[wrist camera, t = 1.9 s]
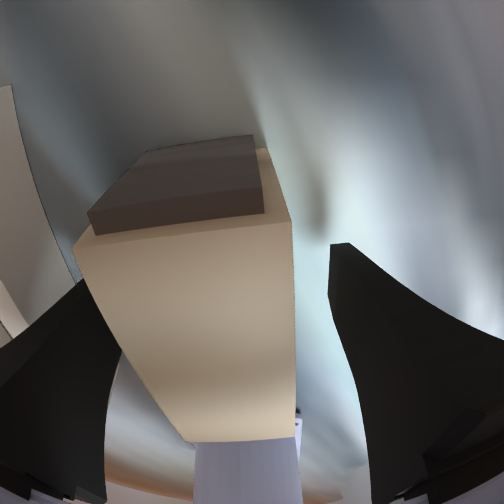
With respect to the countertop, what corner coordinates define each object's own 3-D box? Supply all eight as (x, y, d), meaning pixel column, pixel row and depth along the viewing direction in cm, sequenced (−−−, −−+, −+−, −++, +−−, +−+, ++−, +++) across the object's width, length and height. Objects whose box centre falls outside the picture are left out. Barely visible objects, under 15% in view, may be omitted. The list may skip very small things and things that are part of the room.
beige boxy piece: (281, 336, 14) (294, 436, 10) (195, 344, 14) (185, 441, 10) (265, 131, 9) (289, 193, 5) (138, 150, 9) (61, 225, 5)
